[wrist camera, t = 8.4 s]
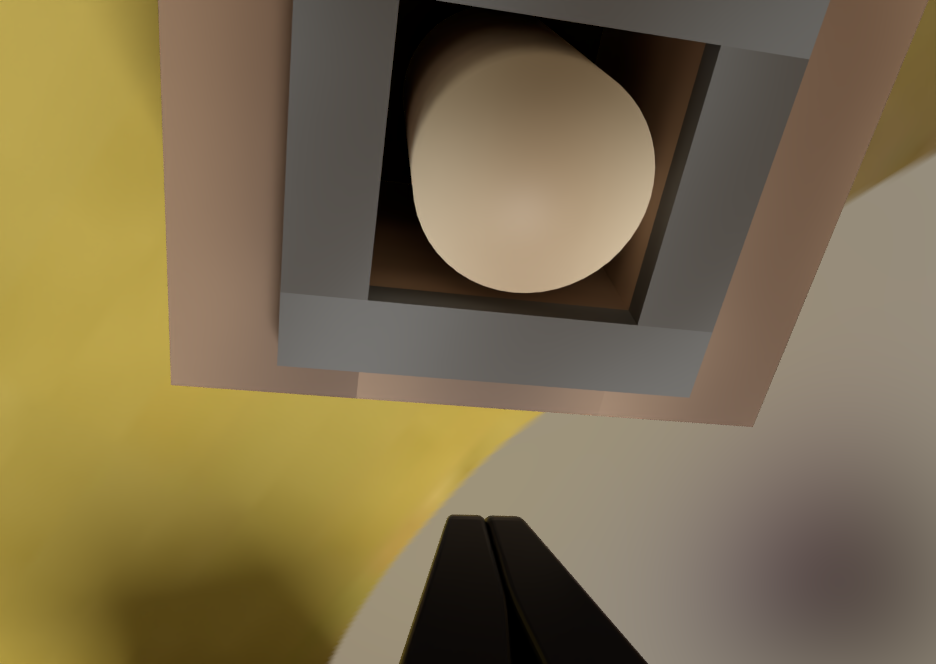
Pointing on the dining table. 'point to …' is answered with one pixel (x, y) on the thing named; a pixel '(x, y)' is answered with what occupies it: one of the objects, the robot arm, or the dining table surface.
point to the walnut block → (469, 303)
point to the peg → (522, 153)
